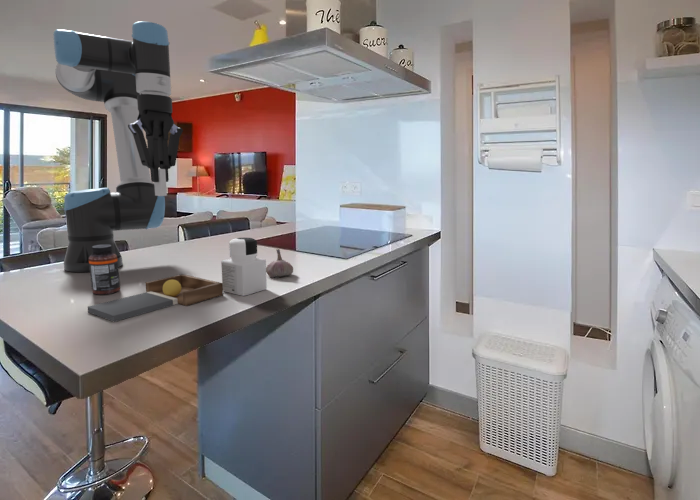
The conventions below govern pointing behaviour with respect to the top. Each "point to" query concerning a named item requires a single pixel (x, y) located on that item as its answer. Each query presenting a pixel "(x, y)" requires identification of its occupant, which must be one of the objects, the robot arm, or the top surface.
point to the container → (243, 268)
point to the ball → (172, 288)
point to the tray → (189, 289)
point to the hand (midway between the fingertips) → (161, 195)
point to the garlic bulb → (279, 267)
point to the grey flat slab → (132, 306)
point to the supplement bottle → (104, 270)
